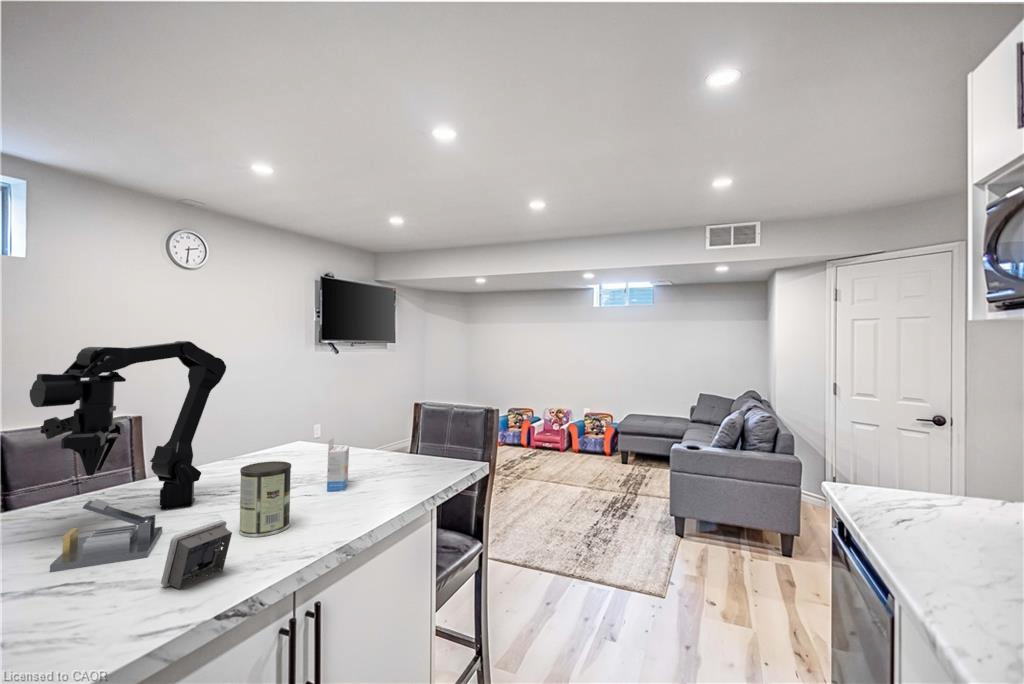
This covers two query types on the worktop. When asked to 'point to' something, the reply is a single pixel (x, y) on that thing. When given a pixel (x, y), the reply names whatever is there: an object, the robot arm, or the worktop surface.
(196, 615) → the worktop surface
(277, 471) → the coffee can
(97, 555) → the toggle clamp fixture
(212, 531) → the electrical switch
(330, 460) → the ink box
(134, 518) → the grey long bar
